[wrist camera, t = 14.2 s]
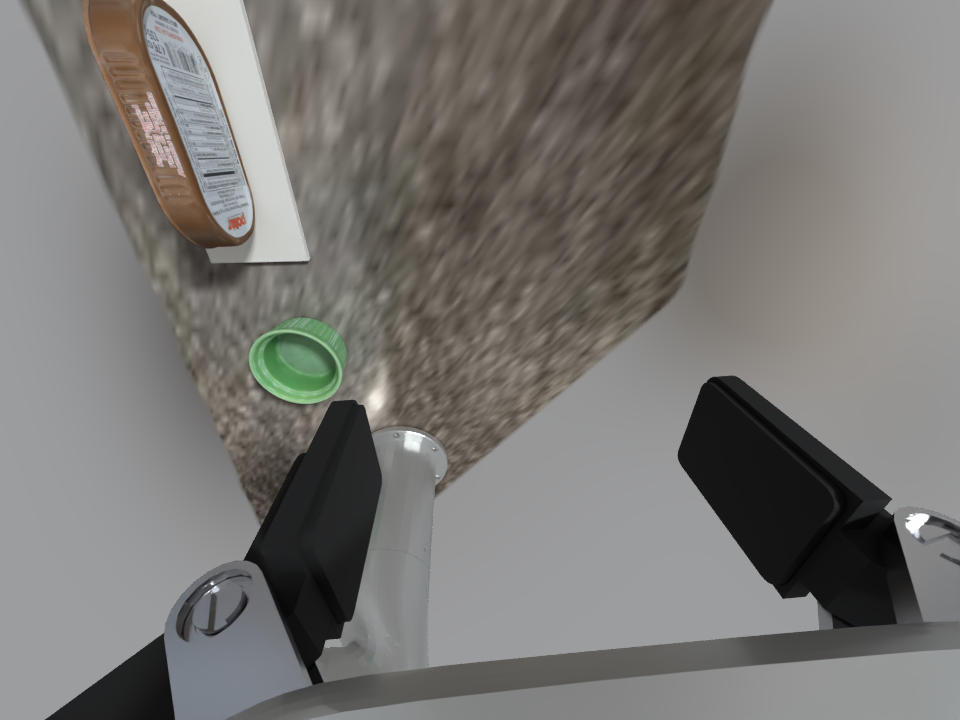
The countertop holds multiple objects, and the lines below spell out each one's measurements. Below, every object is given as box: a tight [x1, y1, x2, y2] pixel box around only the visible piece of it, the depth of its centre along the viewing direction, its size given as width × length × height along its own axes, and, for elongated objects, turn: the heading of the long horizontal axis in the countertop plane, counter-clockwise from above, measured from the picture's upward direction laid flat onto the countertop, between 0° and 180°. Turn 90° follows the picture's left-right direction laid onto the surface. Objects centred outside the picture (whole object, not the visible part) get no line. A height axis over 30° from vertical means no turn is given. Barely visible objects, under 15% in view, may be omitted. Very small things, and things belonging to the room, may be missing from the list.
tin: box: [82, 0, 255, 249], centre depth 25 cm, size 15×3×8 cm, turn 1°
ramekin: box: [249, 317, 347, 404], centre depth 37 cm, size 9×9×4 cm
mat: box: [163, 0, 310, 263], centre depth 28 cm, size 20×9×1 cm, turn 1°
